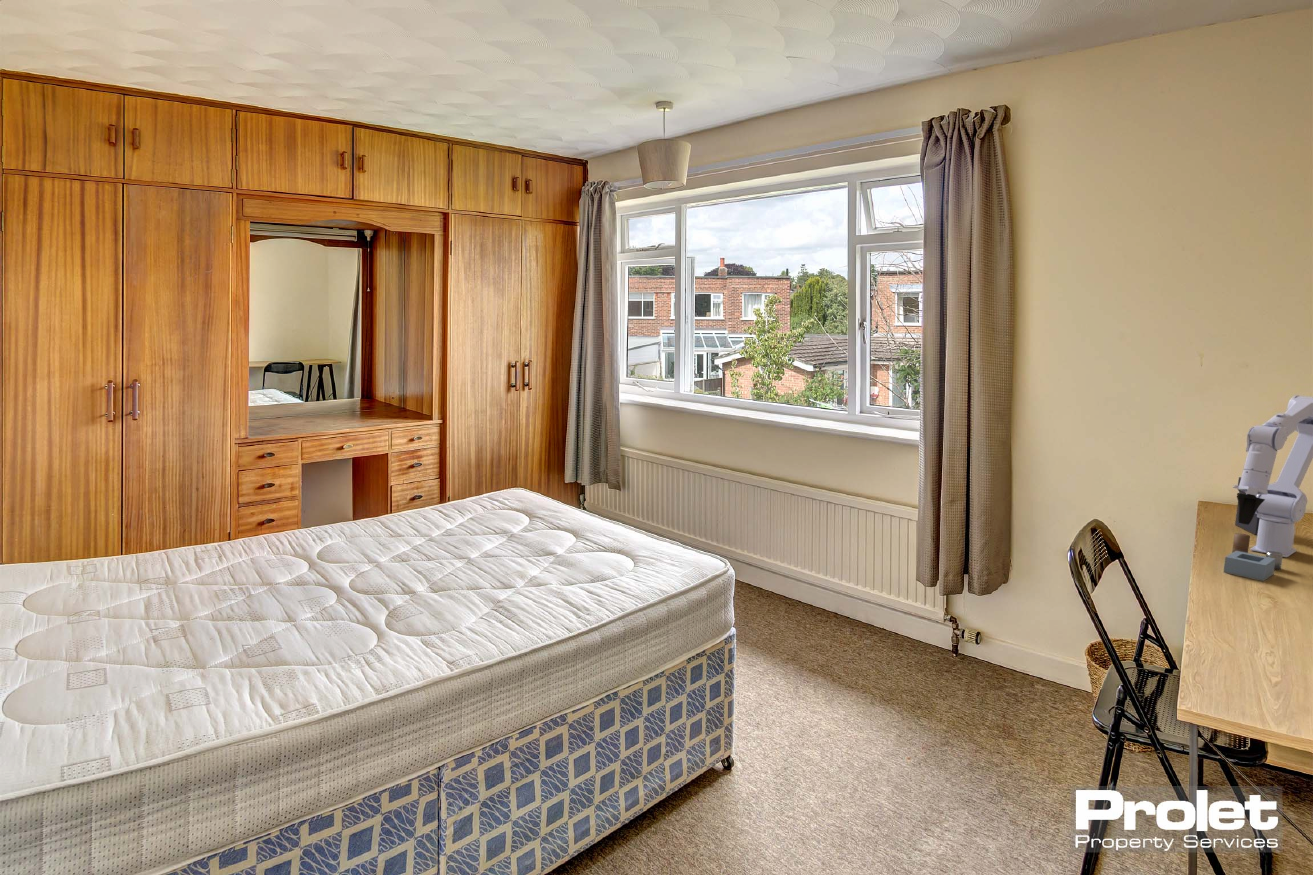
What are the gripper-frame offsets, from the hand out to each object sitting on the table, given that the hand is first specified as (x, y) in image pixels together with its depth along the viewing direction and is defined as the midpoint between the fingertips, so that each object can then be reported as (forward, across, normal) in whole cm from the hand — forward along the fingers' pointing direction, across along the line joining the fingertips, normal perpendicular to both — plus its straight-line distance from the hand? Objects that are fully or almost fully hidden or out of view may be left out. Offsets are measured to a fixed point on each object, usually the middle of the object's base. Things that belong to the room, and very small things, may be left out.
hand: (1243, 523), depth 192 cm
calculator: (+1, -40, +2) cm, 40 cm away
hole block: (+12, +6, +3) cm, 14 cm away
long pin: (+10, -4, +1) cm, 10 cm away
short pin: (+9, -2, +8) cm, 12 cm away
